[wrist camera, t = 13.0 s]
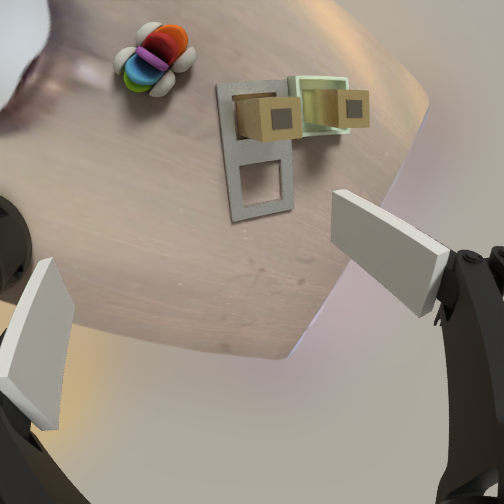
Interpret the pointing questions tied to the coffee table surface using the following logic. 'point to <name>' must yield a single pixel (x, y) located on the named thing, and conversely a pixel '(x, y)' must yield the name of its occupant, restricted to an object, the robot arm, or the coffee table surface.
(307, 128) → the tray
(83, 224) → the coffee table surface
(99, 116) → the coffee table surface
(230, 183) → the grey frame plate
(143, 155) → the coffee table surface
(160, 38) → the colorful toy
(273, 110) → the tan textured tower
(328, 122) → the brass block
